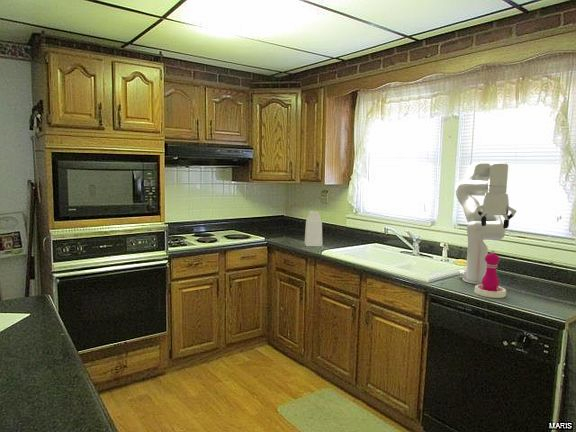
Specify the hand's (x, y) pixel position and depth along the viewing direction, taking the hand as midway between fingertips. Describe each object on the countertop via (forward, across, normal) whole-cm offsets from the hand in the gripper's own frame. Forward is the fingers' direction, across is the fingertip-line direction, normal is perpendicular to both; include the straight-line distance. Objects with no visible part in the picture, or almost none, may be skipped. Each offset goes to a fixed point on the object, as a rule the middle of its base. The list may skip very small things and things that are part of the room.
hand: (494, 227), depth 189 cm
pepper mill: (+31, 0, 0) cm, 31 cm away
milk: (+32, -134, +16) cm, 139 cm away
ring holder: (+32, 0, 0) cm, 32 cm away
